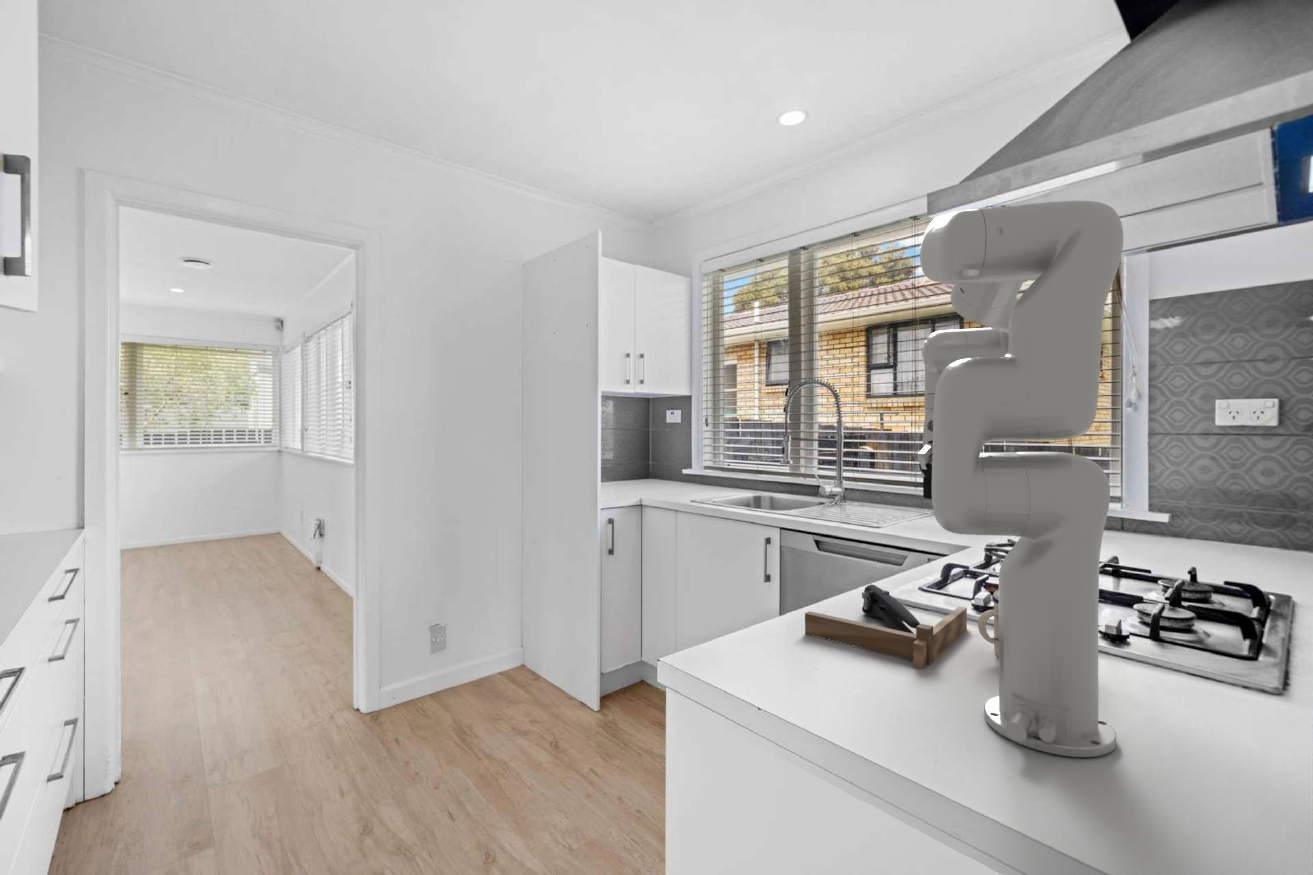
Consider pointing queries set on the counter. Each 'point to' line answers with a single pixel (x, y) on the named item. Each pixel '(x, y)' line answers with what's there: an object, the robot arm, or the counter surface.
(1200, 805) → the counter surface
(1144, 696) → the counter surface
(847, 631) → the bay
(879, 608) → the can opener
